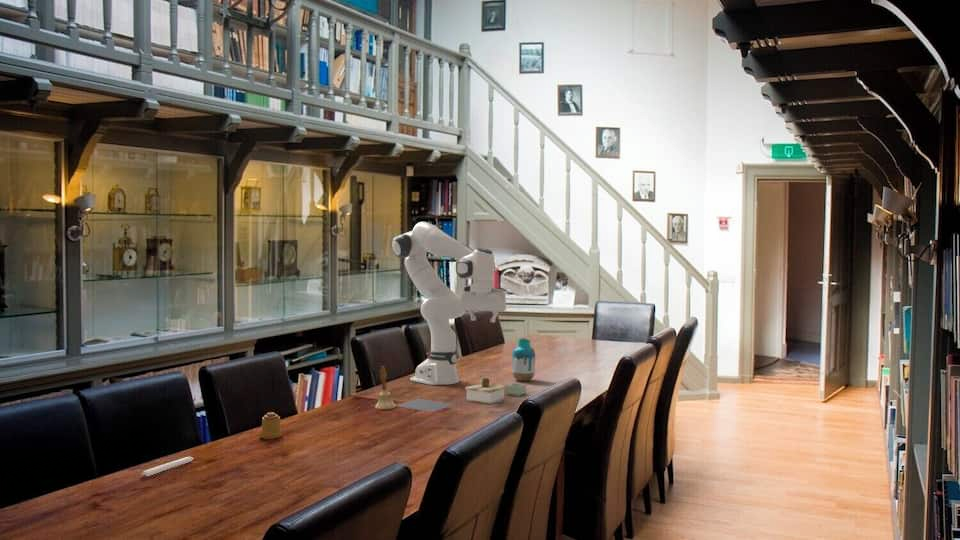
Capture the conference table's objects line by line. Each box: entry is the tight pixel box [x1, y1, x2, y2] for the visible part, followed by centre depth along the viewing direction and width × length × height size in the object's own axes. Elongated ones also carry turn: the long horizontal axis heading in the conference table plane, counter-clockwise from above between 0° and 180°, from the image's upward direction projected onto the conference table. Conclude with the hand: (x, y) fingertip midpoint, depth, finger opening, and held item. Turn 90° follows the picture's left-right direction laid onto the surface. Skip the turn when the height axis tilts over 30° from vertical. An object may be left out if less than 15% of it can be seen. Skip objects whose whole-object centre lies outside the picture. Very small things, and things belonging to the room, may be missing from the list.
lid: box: [464, 377, 506, 393], centre depth 327 cm, size 12×12×4 cm
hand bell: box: [374, 365, 397, 410], centre depth 312 cm, size 8×8×16 cm
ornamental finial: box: [259, 411, 284, 440], centre depth 268 cm, size 8×8×8 cm
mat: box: [396, 398, 456, 413], centre depth 316 cm, size 18×16×1 cm
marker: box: [140, 456, 194, 477], centre depth 232 cm, size 18×2×2 cm, turn 153°
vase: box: [511, 338, 536, 382], centre depth 370 cm, size 11×11×19 cm
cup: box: [505, 382, 527, 397], centre depth 340 cm, size 6×6×4 cm
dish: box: [466, 388, 505, 405], centre depth 327 cm, size 11×11×5 cm
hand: (483, 321), depth 334 cm, fingers open, 8 cm apart
